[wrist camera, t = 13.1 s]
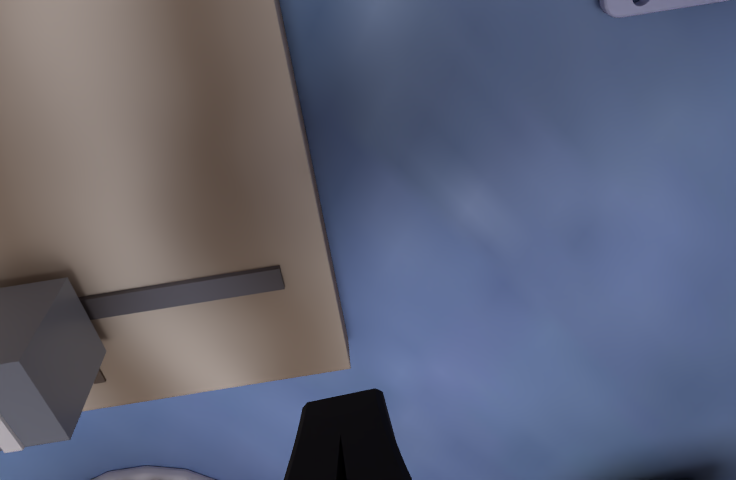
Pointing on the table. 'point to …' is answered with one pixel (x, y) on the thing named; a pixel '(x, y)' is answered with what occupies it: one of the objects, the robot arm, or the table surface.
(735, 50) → the table surface
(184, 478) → the banded round tower
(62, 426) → the fader
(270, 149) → the console
